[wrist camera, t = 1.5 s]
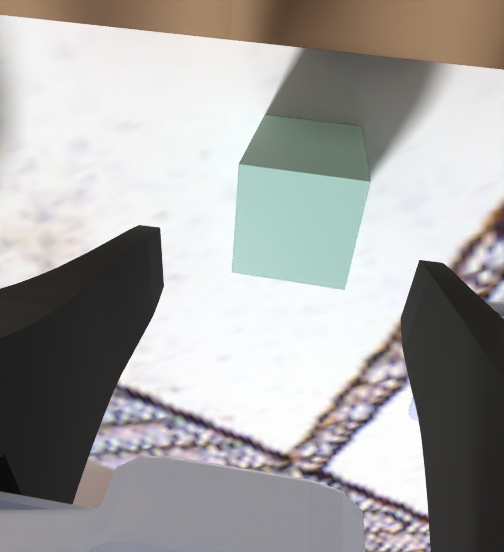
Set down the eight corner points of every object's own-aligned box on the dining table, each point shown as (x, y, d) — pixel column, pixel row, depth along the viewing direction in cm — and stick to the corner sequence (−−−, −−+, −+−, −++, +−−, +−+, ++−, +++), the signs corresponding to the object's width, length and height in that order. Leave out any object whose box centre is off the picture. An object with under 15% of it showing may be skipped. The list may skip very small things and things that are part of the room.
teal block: (362, 126, 18) (370, 181, 13) (343, 214, 21) (344, 289, 16) (265, 114, 19) (238, 164, 14) (256, 202, 21) (231, 272, 16)
